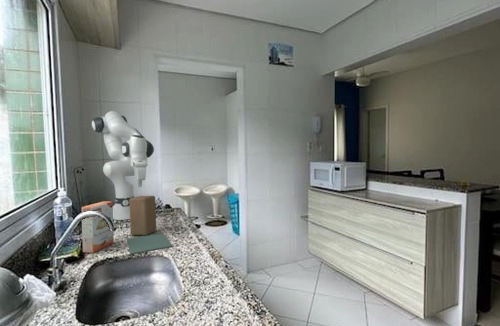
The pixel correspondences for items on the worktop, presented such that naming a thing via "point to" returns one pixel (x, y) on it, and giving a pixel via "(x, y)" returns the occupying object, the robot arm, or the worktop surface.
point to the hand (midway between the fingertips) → (140, 186)
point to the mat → (148, 243)
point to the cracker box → (97, 228)
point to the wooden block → (142, 215)
